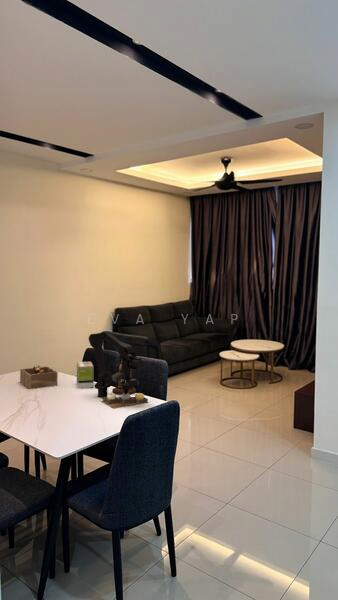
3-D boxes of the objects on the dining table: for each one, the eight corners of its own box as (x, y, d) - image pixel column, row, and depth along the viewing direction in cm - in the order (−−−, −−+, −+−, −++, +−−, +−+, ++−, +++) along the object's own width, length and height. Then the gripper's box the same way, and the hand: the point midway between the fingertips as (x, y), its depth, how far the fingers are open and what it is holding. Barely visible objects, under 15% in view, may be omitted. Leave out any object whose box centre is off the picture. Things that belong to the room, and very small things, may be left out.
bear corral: (20, 382, 280) (20, 369, 279) (47, 379, 291) (47, 366, 290) (29, 389, 264) (29, 375, 263) (57, 385, 275) (57, 372, 274)
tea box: (76, 383, 283) (76, 361, 282) (90, 382, 286) (91, 361, 285) (78, 388, 269) (78, 366, 268) (93, 388, 272) (94, 365, 271)
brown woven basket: (108, 395, 255) (109, 363, 254) (117, 389, 270) (118, 359, 269) (131, 398, 252) (132, 365, 251) (138, 391, 266) (139, 360, 265)
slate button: (119, 400, 240) (119, 393, 240) (126, 399, 243) (127, 392, 242) (123, 402, 236) (124, 395, 236) (131, 401, 239) (131, 394, 239)
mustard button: (133, 400, 241) (133, 393, 240) (140, 399, 244) (140, 392, 243) (138, 402, 237) (138, 395, 237) (145, 401, 240) (145, 394, 239)
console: (100, 403, 239) (100, 397, 239) (134, 397, 252) (134, 392, 252) (113, 410, 226) (113, 404, 226) (148, 404, 239) (149, 398, 239)
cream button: (105, 401, 239) (105, 393, 239) (112, 399, 242) (113, 392, 242) (109, 403, 235) (109, 395, 235) (116, 401, 238) (117, 394, 238)
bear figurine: (33, 388, 268) (34, 369, 267) (27, 382, 280) (27, 364, 280) (54, 385, 276) (54, 367, 275) (47, 380, 288) (47, 363, 288)
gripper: (106, 365, 241) (105, 392, 242) (121, 372, 226) (121, 400, 227) (122, 364, 248) (122, 389, 249) (139, 370, 233) (138, 397, 233)
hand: (125, 394), depth 239 cm, fingers closed, pressing on slate button
